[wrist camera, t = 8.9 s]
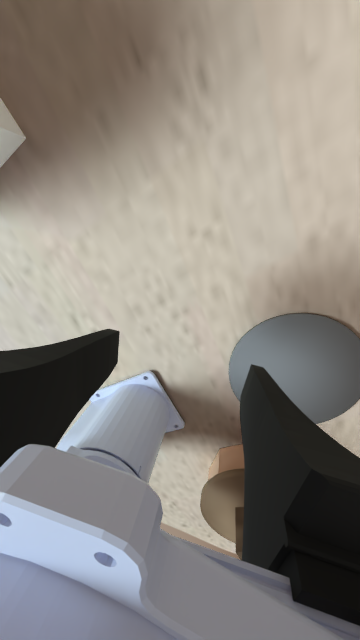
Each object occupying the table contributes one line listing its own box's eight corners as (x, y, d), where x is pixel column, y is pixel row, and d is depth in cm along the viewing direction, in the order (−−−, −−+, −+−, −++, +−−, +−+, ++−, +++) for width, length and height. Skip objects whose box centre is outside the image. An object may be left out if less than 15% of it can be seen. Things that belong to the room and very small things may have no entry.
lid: (225, 543, 27) (224, 597, 23) (184, 476, 24) (174, 524, 20) (328, 539, 23) (348, 603, 19) (292, 460, 20) (307, 515, 16)
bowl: (230, 502, 30) (230, 540, 26) (199, 452, 28) (194, 485, 24) (303, 494, 27) (314, 535, 23) (274, 437, 25) (281, 472, 21)
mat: (256, 433, 25) (257, 436, 25) (208, 342, 22) (208, 344, 22) (384, 405, 21) (387, 408, 21) (344, 290, 18) (346, 291, 18)
